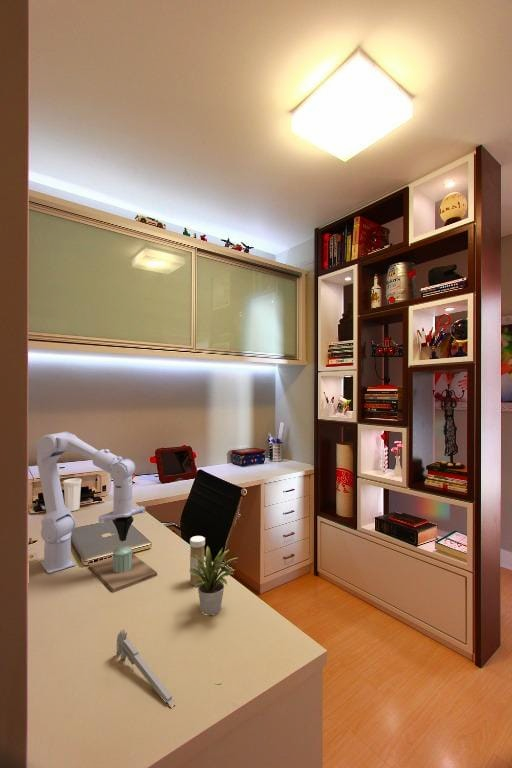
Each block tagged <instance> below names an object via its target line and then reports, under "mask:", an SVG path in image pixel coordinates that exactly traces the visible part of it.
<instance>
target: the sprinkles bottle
mask: <svg viewBox="0 0 512 768" xmlns="http://www.w3.org/2000/svg"><path fill="white" fill-rule="evenodd" d="M205 545H206V537H204V536H202V535H195V536H192V537H190V539H189V546H190V554H189V560H190V561H189V570H191V569H196V570H197V571H199V572H200V573H201V571H202V570H201V568H200V567H199V569H200V570H201V571H200V570H199V569H198V568H197V567H198V566H200V565H199V564H200V563H199V562H198V560H197V558H196V557H195V555H197V556H198V557H199V558H201V561H202V562H203V564H204V565H205V561H204V560H205ZM194 554H195V555H194ZM203 559H204V560H203ZM195 561H196V562H195ZM197 562H198V563H199V564H198V563H197ZM192 563H193V564H195V565H196V566H197V567H195V565H193V564H192ZM193 567H194V568H193ZM189 573H190V575H189V576H190V577H189V578H190V580H189V583H190V585H192V586H194V587H195V586H197V581H198V580H202V579H201V577H200V576H198V575H197V574H194V573H192V572H190V571H189ZM202 573H203V571H202ZM202 573H201V574H202ZM202 575H204V573H203V574H202ZM203 577H205V576H203ZM202 581H203V580H202Z"/></svg>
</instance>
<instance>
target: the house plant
mask: <svg viewBox="0 0 512 768" xmlns="http://www.w3.org/2000/svg"><path fill="white" fill-rule="evenodd" d="M229 551H230V548H229V549H227V550H225V551H224V552H223V548H221V549H220V550H219V552H218V553H217V555H216V557H215V558H214V560H213V559H212V552H211V549H210V546H209V545H207V546H206V549H205V558H204V559H203V560H204V564H203V562H202V561H201V558H199V557H198V556H197V555H195V554H194V555H195V557H196V558H197V560H198V562H199V563H200V564H199V563H198V562H197V563H198V564H199V565H200V566H198V567H197V566H196V565H195V564H193V563H192V564H193V565H195V567H197V568H198V569H199V567H200V568H201V570H202V571H203V573H204V575H202V574H203V573H202V571H201V570H200V569H199V570H200V571H201V573H202V574H201V573H200V572H199V571H197V570H196V569H191V570H190V569H189V573H190V572H192V573H194V574H197V575H198V576H200V577H201V579H202V580H203V581H202V580H198V581H197V586H196V588H197V593H198V598H199V604H200V605H199V606H200V611H202V612H203V613H204V614H207V615H212V616H214V615H213V614H216V613H218V612H219V611H220V612H221V609H222V608H221V607H222V602H223V596H224V589H225V585H226V586H228V582H227V579H226V578H224V577H227V576H231V575H234V573H233V572H234V571H237V569H231V568H229V567H226V566H227V565H229V564H233V563H235V561H234V560H236V559H238V557H234V558H229V559H227V560H226V561H225V562H223V561H224V560H225V557H226V554H227V553H228V552H229ZM195 562H196V561H195ZM222 562H223V563H222ZM237 562H240V561H237V560H236V563H237ZM193 568H194V567H193ZM223 572H224V573H223ZM203 576H204V577H203ZM202 612H201V613H202ZM220 612H219V613H220ZM203 613H202V614H203ZM219 613H218V614H219ZM204 614H203V615H204ZM207 615H206V616H207ZM216 615H217V614H216Z"/></svg>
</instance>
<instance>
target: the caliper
mask: <svg viewBox="0 0 512 768" xmlns="http://www.w3.org/2000/svg"><path fill="white" fill-rule="evenodd" d="M127 636H128V632H126V630H125V628H123V629H120V631H119V633H117V638H116V656H117V657H119V656H120V660H121V661H123V660H125V659H126V658H127V660H128V661H129V662H130V663H131V665H135V666H136V668H137V669H138V670H139V671H140V673H141V674H142V676H143V677H144V678H145V679H146V681H147V682H148V683H149V684H150V686H151V687H152V688H153V690H154V691H155V693H156V694H157V693H158V694H159V695H160V696H161V697H162V698H163V699H164V700H165V701H166V702H167V703H168V704H169V705H170V706H171V705H172V704H173V702H175V700H174V699H173V695H172V694H171V693H170V691H169V690H168V689H167V688H166V686H165V685H164V684H163V682H162V681H161V680H160V679H159V678H158V676H157V675H156V673H154V671H153V670H152V668H151V667H150V666H149V665H148V664H147V662H146V661H145V660H144V658H143V657H142V656H141V655H140V654H139V651H138V649H137V648H136V646H135V645H134V644H133V642H131V641H130V639H129V637H128V638H127ZM158 694H157V695H158ZM159 695H158V696H159ZM160 696H159V697H160ZM168 704H167V705H168ZM169 705H168V706H169Z"/></svg>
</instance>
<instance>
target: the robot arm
mask: <svg viewBox="0 0 512 768" xmlns="http://www.w3.org/2000/svg"><path fill="white" fill-rule="evenodd" d="M36 448H37V455H36V463H37V468H38V474H39V480H40V484H41V490H42V491H41V492H42V496H43V501H44V504H45V505H44V506H45V512H46V513H45V515H44V516H43V518H42V519H41V530H40V536H41V538H42V540H43V541H44V544H43V545H44V546H43V547H44V548H43V549H44V551H43V552H44V553H43V555H44V558H43V560H44V561H41V562H40V565H42V567H43V568H44V571H46V572H47V574H51V573H55V572H59V571H62V570H65V569H68V568H71V567H72V568H73V567H74V566H76V565H75V562H74V561H72V558H71V557H72V556H71V555H72V554H71V551H72V549H71V548H72V541H71V540H72V539H71V538H72V537H71V536H72V534H73V531H74V530H75V528H76V524H77V522H76V518H75V517H74V516H73V514H72V511H71V510H69V509H68V508H66V507H65V498H64V493H63V491H62V485H61V479H60V474H59V469H58V464H57V461H58V460H59V459H60V457H61V456H62V455H63V454H64V453H66V452H68V451H72V452H74V453H77V454H79V455H80V456H83V457H85V458H87V459H90V460H92V464H93V465H94V466H95V467H97V468H98V469H101V470H102V471H104V472H107V473H108V474H109V475H110V477H111V479H112V482H113V503H112V505H113V507H112V509H113V511H110V512H107V513H105V514H102V515H99V516H98V523H99V524H101V525H102V524H105V523H106V522H111V521H112V523H113V524H114V526H115V528H116V531H117V534H118V540H119V541H120V542H125V541H126V540H127V536H128V533H129V530H130V528H131V525H132V523H134V517H133V516H135V515H140V514H142V515H143V514H146V507H145V506H143V505H140V506H134V507H133V475H134V474H135V472H136V469H137V466H136V464H135V462H134V461H133V460H132V459H130V458H124V459H123V457H122V456H118V455H115V454H114V453H112V452H111V450H110V449H108V448H106V449H100V450H98V449H96V448H95V447H93V446H92V445H90V444H88V443H87V442H85V441H83V440H82V439H80V438H78V437H77V435H76V434H74V433H71V432H69V431H62V432H58V433H52V434H51V433H50V434H44V435H43V436H41V437H40V438H39V440H38V442H37V443H36Z"/></svg>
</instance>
